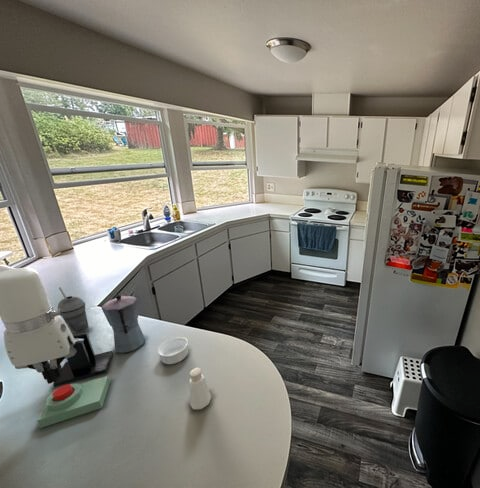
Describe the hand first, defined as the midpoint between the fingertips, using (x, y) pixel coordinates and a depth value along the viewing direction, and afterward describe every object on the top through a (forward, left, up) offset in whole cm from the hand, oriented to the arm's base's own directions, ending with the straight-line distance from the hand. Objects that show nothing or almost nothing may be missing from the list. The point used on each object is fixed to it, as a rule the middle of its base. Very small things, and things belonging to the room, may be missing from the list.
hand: (55, 378), depth 65 cm
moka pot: (+11, +20, -10) cm, 25 cm away
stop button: (0, 0, -6) cm, 6 cm away
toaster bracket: (0, +14, -10) cm, 17 cm away
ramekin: (+25, +8, -10) cm, 28 cm away
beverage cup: (-7, +36, -10) cm, 38 cm away
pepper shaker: (+32, -14, -10) cm, 37 cm away
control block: (+2, 0, -10) cm, 10 cm away
